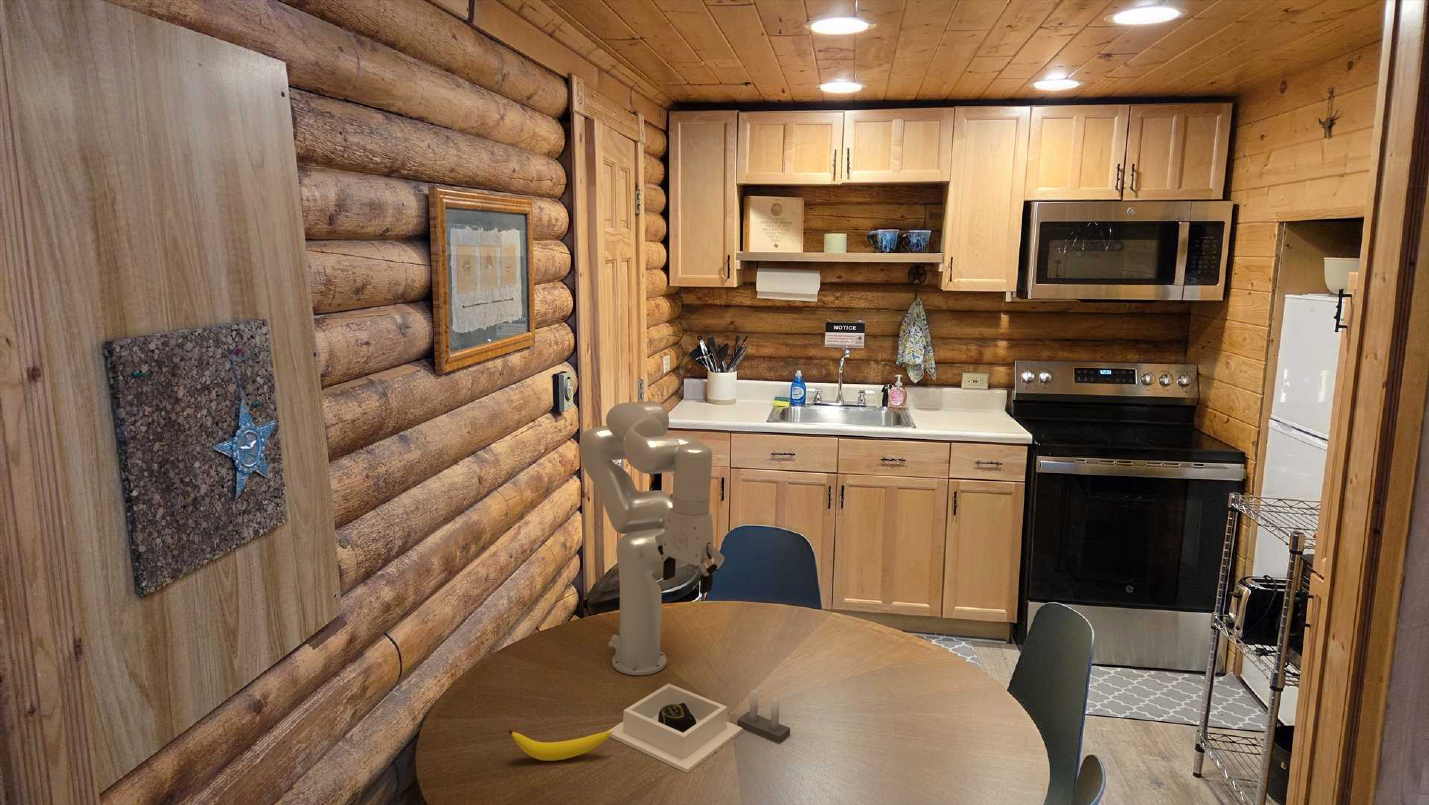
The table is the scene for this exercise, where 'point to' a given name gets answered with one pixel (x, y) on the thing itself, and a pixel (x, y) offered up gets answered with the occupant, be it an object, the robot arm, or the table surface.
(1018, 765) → the table surface
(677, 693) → the white square tray
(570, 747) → the banana
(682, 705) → the tape measure
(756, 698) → the peg board plate
